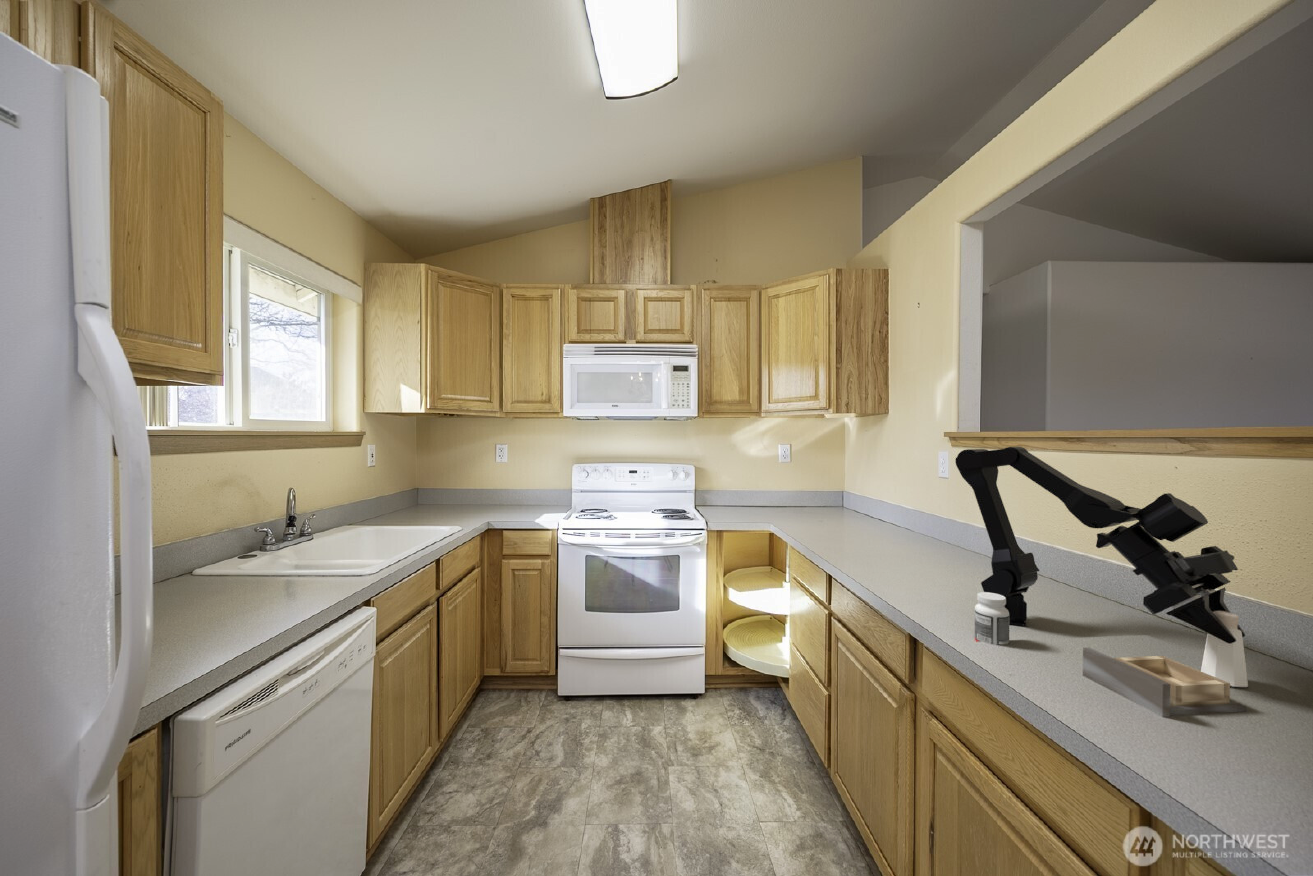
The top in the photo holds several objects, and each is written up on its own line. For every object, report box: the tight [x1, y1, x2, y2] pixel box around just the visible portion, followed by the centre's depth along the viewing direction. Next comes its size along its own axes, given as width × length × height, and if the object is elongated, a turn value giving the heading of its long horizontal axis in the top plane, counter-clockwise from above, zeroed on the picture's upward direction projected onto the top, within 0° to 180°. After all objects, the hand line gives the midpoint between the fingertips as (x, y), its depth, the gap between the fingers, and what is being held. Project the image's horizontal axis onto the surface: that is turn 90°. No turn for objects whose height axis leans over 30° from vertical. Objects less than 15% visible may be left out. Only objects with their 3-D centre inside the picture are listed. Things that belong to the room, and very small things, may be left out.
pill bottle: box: [974, 591, 1010, 646], centre depth 97 cm, size 6×6×10 cm
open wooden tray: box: [1082, 646, 1247, 718], centre depth 79 cm, size 16×16×6 cm
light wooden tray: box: [1113, 655, 1231, 707], centre depth 77 cm, size 9×9×4 cm
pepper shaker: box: [1200, 611, 1249, 688], centre depth 80 cm, size 5×5×11 cm
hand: (1237, 639), depth 79 cm, fingers closed on pepper shaker, 4 cm apart
